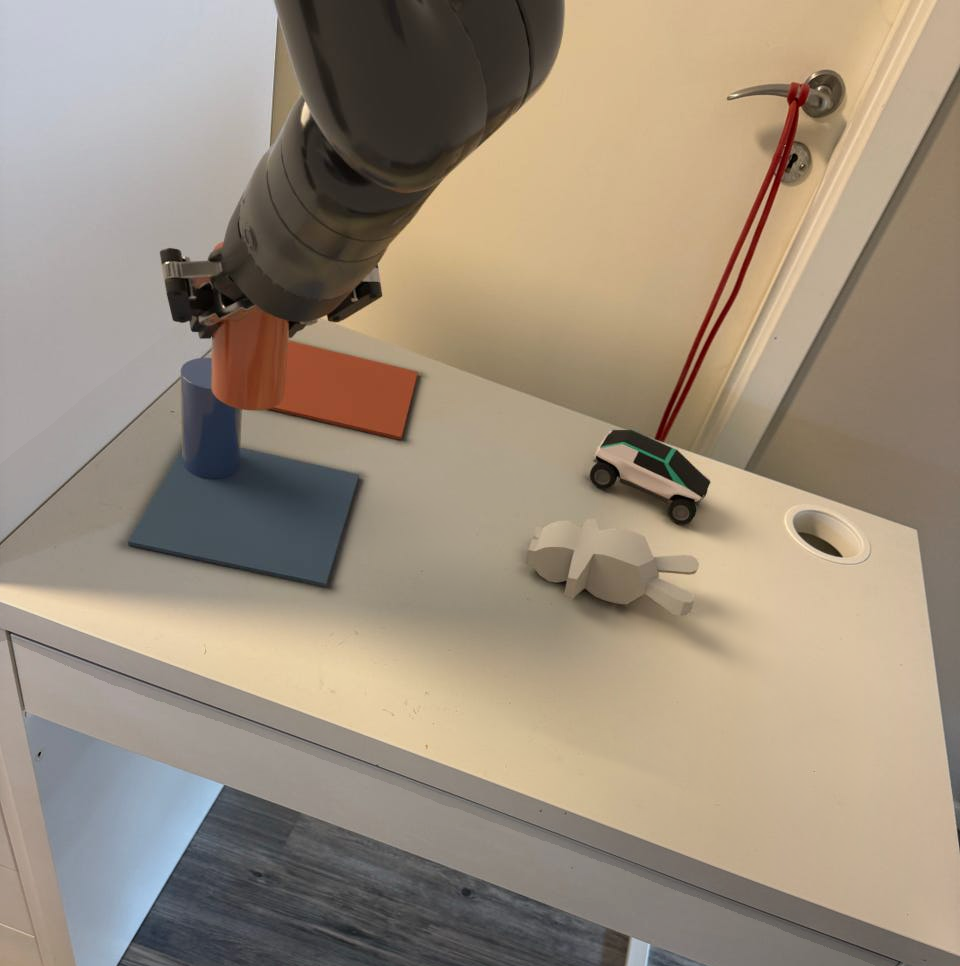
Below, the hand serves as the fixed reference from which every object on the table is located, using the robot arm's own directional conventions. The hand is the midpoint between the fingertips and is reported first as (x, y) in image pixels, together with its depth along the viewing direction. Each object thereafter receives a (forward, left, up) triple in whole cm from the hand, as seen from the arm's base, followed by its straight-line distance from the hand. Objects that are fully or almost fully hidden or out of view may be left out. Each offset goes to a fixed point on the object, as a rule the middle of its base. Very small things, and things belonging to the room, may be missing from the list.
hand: (243, 324), depth 63 cm
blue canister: (-4, +7, -18) cm, 19 cm away
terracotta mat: (+4, +25, -18) cm, 31 cm away
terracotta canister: (+1, -2, -4) cm, 5 cm away
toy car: (+38, +19, -18) cm, 46 cm away
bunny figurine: (+33, +2, -18) cm, 38 cm away
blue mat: (+1, +2, -18) cm, 18 cm away
